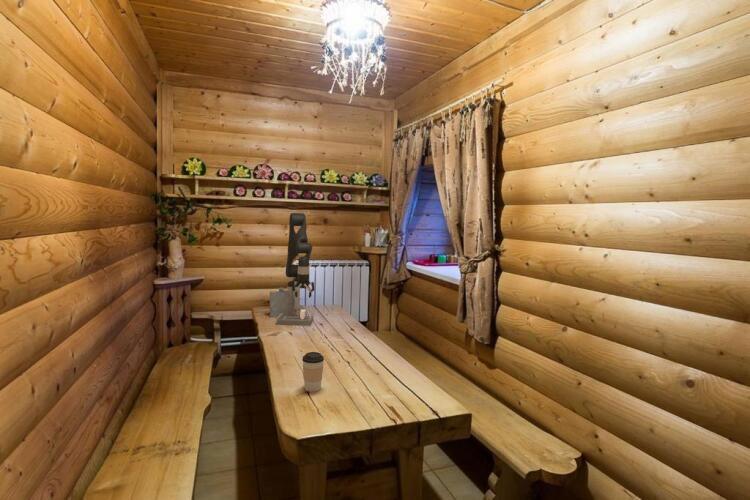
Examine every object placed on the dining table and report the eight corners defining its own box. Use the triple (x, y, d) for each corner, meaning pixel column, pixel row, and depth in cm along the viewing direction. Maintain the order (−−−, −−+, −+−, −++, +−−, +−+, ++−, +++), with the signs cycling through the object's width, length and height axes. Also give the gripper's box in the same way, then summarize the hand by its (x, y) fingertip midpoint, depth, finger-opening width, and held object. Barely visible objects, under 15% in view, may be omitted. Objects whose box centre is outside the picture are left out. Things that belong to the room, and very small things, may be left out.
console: (280, 319, 281) (280, 313, 280) (313, 320, 281) (313, 314, 280) (276, 324, 269) (276, 317, 268) (310, 325, 269) (310, 319, 268)
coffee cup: (313, 381, 181) (314, 348, 180) (327, 387, 176) (328, 353, 174) (297, 388, 174) (297, 353, 173) (311, 394, 169) (312, 359, 167)
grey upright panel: (269, 317, 286) (270, 288, 284) (269, 316, 290) (269, 287, 288) (293, 316, 291) (293, 288, 290) (292, 314, 295) (292, 287, 293)
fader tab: (301, 316, 277) (301, 309, 276) (305, 316, 277) (305, 309, 276) (300, 318, 272) (300, 311, 271) (304, 318, 272) (304, 311, 271)
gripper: (315, 272, 275) (314, 296, 277) (293, 271, 275) (293, 295, 277) (313, 274, 268) (313, 299, 269) (291, 273, 268) (291, 298, 269)
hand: (303, 297), depth 273 cm, fingers open, 8 cm apart
